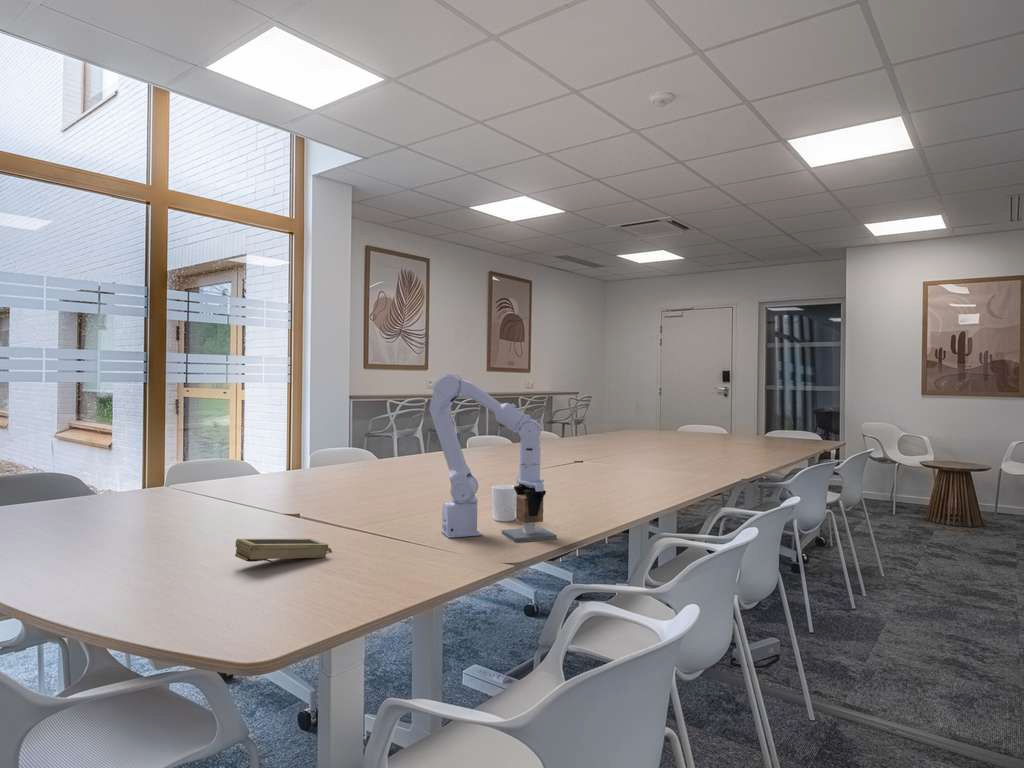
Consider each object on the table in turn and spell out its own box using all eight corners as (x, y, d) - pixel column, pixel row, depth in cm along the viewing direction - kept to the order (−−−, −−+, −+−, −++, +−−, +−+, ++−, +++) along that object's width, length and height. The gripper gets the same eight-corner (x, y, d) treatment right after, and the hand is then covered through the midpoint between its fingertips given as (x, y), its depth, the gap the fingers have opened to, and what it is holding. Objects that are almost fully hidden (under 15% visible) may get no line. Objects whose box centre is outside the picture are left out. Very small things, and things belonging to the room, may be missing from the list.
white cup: (487, 521, 187) (488, 487, 187) (495, 515, 194) (496, 484, 194) (512, 523, 185) (513, 489, 185) (519, 517, 192) (520, 485, 192)
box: (230, 560, 136) (234, 538, 137) (319, 557, 153) (322, 537, 154) (248, 569, 131) (252, 545, 132) (338, 565, 148) (342, 544, 149)
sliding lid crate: (523, 523, 165) (524, 498, 165) (516, 518, 170) (516, 494, 170) (543, 521, 167) (543, 497, 167) (534, 517, 172) (535, 493, 172)
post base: (515, 542, 162) (515, 523, 162) (501, 533, 171) (502, 515, 171) (556, 538, 166) (556, 520, 166) (541, 530, 176) (541, 512, 176)
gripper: (554, 466, 163) (553, 518, 163) (532, 460, 177) (532, 507, 177) (529, 467, 161) (529, 519, 161) (509, 461, 174) (509, 509, 174)
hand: (529, 513), depth 169 cm, fingers closed on sliding lid crate, 6 cm apart
